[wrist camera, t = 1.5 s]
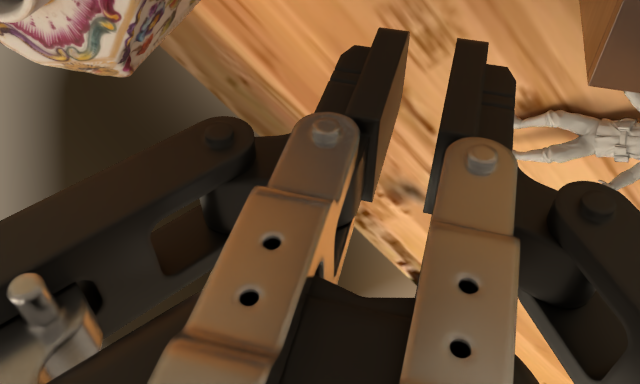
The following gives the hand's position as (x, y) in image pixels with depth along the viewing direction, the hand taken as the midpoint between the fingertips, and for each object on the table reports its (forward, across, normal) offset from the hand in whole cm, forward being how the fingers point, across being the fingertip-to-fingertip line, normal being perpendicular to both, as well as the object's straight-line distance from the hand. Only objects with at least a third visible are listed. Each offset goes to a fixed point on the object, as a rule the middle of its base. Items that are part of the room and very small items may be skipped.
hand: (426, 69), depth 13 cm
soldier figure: (+23, -11, +17) cm, 31 cm away
